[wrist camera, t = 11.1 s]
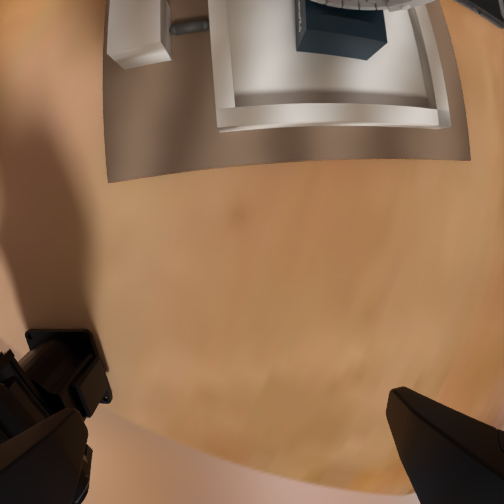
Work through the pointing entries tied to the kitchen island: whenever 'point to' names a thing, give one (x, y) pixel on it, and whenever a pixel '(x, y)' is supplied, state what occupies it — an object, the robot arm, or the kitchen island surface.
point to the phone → (487, 10)
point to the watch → (345, 25)
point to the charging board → (270, 89)
